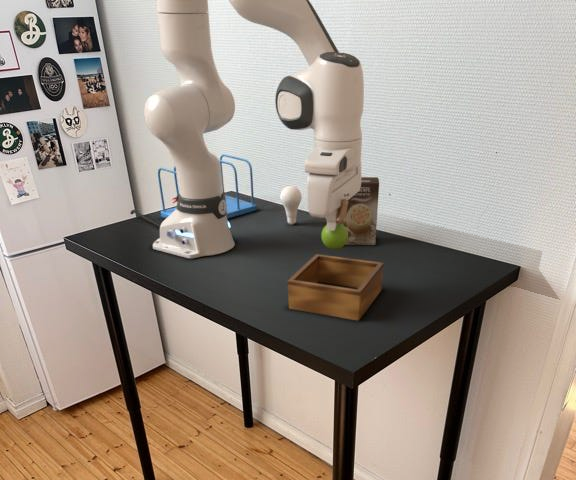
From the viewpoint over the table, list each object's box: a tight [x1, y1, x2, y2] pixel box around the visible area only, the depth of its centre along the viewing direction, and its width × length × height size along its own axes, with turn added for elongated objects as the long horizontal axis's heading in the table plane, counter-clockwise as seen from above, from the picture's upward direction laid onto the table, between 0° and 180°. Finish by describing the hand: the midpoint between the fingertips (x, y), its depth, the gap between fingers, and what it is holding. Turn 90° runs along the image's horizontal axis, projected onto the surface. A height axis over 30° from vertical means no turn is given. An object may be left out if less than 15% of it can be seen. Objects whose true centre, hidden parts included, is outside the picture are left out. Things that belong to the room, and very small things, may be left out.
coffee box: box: [342, 176, 380, 246], centre depth 144 cm, size 9×6×16 cm
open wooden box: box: [286, 253, 385, 322], centre depth 118 cm, size 16×16×6 cm
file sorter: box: [157, 153, 258, 220], centre depth 170 cm, size 25×17×15 cm
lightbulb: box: [279, 185, 302, 226], centre depth 159 cm, size 6×6×11 cm
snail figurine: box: [320, 193, 349, 250], centre depth 110 cm, size 5×6×12 cm
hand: (335, 226), depth 111 cm, fingers closed on snail figurine, 3 cm apart
